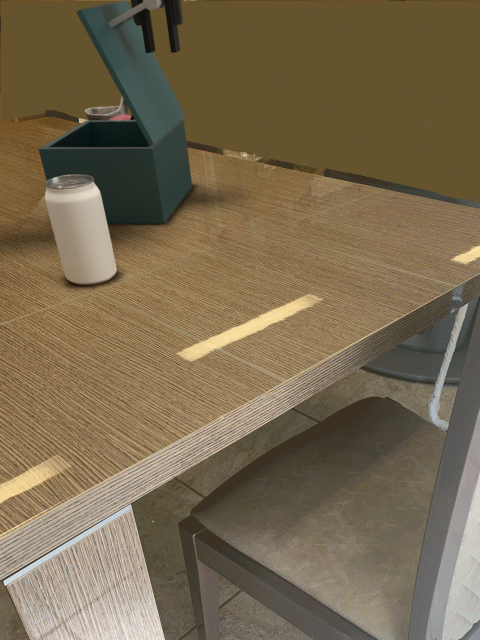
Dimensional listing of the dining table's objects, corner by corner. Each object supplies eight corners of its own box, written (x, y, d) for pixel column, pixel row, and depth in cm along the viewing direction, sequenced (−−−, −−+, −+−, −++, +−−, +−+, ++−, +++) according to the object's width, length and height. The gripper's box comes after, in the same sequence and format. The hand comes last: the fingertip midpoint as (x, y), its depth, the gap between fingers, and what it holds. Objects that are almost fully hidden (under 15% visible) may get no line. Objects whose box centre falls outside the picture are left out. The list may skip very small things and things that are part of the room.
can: (58, 275, 84) (32, 180, 77) (104, 262, 87) (84, 170, 80) (78, 290, 80) (53, 192, 73) (126, 276, 83) (106, 181, 76)
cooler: (57, 223, 100) (38, 148, 94) (100, 186, 116) (85, 120, 110) (164, 223, 99) (152, 148, 93) (192, 186, 115) (183, 119, 109)
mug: (94, 139, 146) (84, 90, 140) (150, 136, 148) (142, 88, 142) (88, 149, 139) (77, 98, 133) (147, 146, 140) (139, 95, 134)
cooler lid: (75, 12, 83) (132, -21, 81) (122, 2, 99) (170, -26, 97) (149, 146, 93) (202, 120, 90) (181, 117, 109) (226, 95, 106)
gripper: (202, -163, 83) (221, 47, 97) (80, -159, 84) (117, 49, 98) (189, -172, 77) (212, 54, 91) (58, -167, 78) (101, 55, 92)
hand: (163, 51), depth 94 cm, fingers open, 3 cm apart
